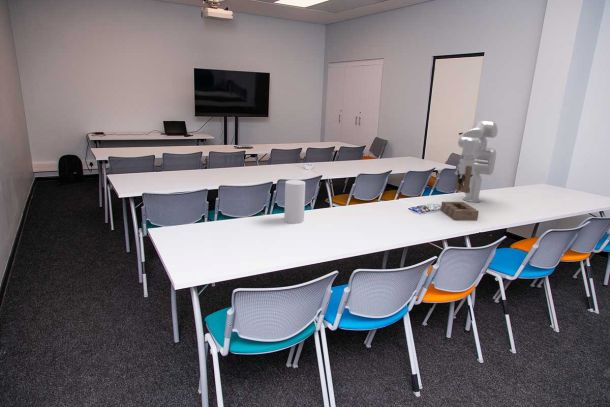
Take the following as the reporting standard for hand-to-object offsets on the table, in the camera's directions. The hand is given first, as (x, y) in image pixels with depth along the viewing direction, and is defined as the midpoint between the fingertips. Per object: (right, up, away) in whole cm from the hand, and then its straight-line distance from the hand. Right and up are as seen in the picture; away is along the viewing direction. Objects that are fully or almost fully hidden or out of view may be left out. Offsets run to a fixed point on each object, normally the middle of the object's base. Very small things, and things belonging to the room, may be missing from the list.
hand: (463, 183), depth 272 cm
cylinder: (-115, -24, -18) cm, 119 cm away
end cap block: (-1, -22, +7) cm, 23 cm away
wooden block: (0, -5, +2) cm, 6 cm away
